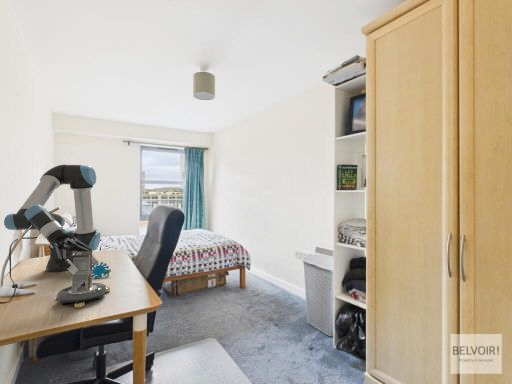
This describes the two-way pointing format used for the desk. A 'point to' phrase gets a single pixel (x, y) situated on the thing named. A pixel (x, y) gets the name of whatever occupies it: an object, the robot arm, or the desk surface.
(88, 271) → the coffee box
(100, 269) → the gear
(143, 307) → the desk surface
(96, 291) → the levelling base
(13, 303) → the desk surface
